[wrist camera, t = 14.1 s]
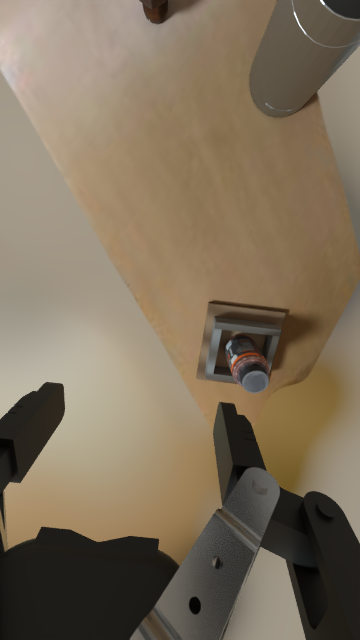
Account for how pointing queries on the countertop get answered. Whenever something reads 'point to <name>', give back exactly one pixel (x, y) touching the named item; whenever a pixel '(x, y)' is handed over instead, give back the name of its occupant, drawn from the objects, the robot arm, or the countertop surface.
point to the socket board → (230, 323)
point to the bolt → (155, 10)
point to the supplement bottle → (247, 363)
